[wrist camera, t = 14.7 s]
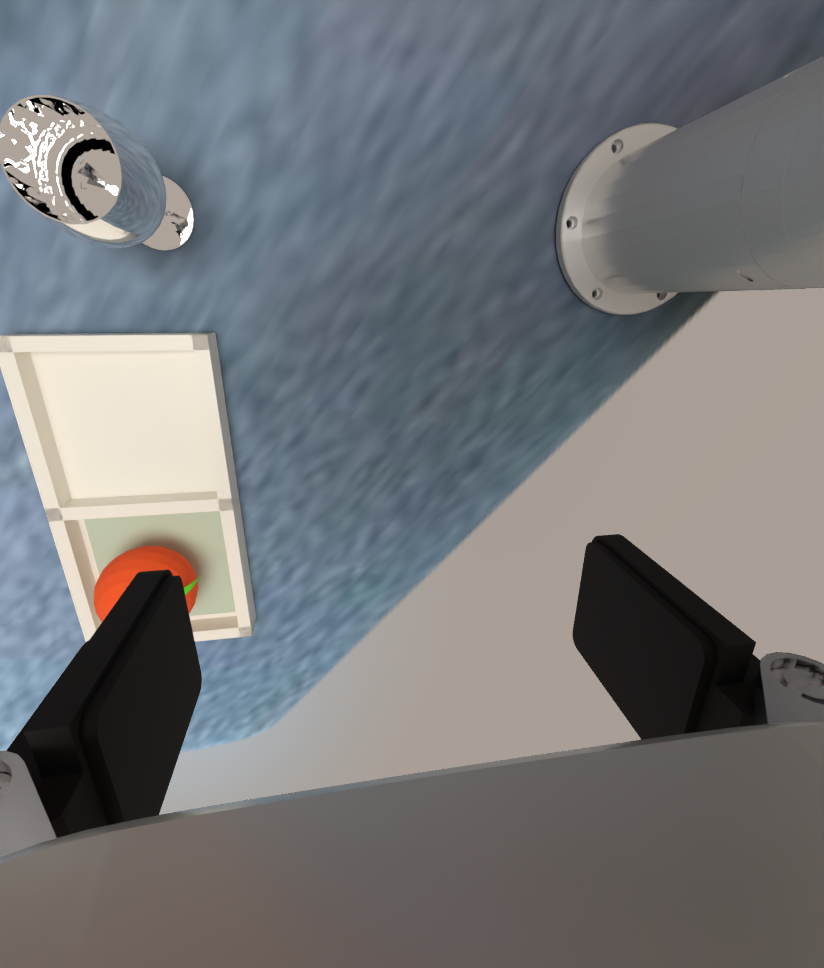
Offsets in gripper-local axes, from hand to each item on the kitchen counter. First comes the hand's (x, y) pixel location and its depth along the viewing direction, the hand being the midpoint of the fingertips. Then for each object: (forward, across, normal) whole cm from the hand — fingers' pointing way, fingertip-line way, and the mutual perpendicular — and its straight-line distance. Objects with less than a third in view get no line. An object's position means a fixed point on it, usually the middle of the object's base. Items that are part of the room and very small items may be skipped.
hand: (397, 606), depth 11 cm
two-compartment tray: (+28, +16, +8) cm, 33 cm away
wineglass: (+28, +12, -12) cm, 33 cm away
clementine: (+28, +16, +14) cm, 35 cm away
